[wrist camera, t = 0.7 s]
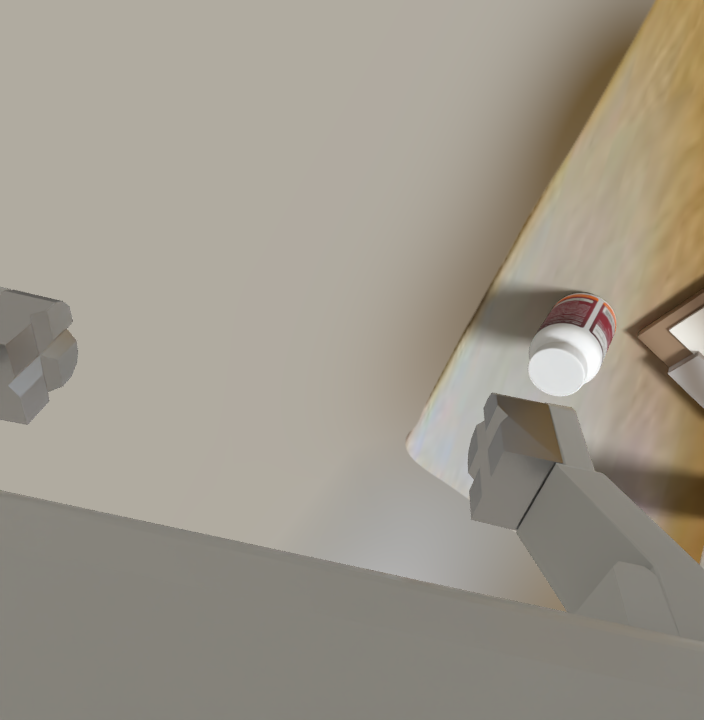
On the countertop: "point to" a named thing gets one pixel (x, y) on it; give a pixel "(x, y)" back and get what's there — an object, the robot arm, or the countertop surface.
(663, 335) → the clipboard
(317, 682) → the robot arm
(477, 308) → the countertop surface
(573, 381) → the pill bottle
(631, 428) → the countertop surface
